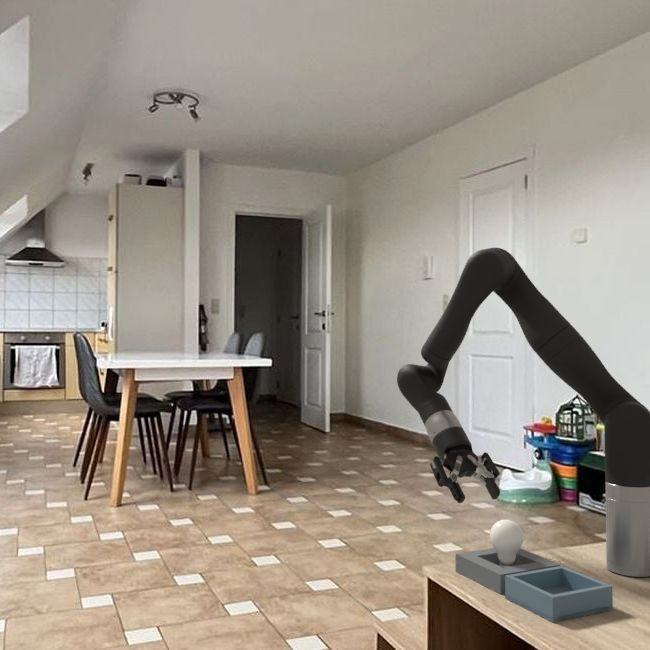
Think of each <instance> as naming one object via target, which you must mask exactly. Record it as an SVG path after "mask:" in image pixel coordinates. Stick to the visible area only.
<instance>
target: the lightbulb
mask: <svg viewBox="0 0 650 650" xmlns="http://www.w3.org/2000/svg"><path fill="white" fill-rule="evenodd" d="M524 537H525V536H524V532H523V530H522V528H521V527H520V525H519V524H518V523H517V522H515V521H513V520H511V519H506V518H504V519H501V520H498V521H496V522H495V523H494V524H493V525H492V526H491V528H490V532H489V540H490V543H491V545H492V548H495V550H496V552H497V555H498V559H499V561H500V566H501V567H503V568H504V567H510V566H514V561H515V559H516V554H517V552H518V551H519V549H520V548H521V549H522V546H523V543H524V539H525V538H524Z"/></svg>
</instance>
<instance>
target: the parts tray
mask: <svg viewBox="0 0 650 650" xmlns="http://www.w3.org/2000/svg"><path fill="white" fill-rule="evenodd" d="M613 591H614V589H613V585H611V584H609V583H606V582H603V581H601V580H598V579H596V578H594V577H591V576H588V575H587V574H583V573H580V572H578V571H576V570H573V569H571V568H569V567H565V566H563V565H561V566H558V567H552V568H547V569H541V570H535V571H529V572H523V573H518V574H512V575H506V576H505V595H504V597H505V599H506V600H508V601H510V602H512V603H514V604H516V605H518V606H520V607H521V608H523V609H525V610H527V611H529V612H530V613H534V614H535V615H537V616H539V617H541V618H544V619H545V620H547V621H549V622H551V623H558V622H561V621H567V620H571V619H575V618H582V617H586V616H591V615H595V614H599V613H605V612H610V611H613V610H614V608H613V605H614V601H613V600H614V599H613V598H614V596H613V593H614V592H613Z"/></svg>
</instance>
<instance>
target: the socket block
mask: <svg viewBox="0 0 650 650" xmlns="http://www.w3.org/2000/svg"><path fill="white" fill-rule="evenodd" d="M558 566H562V564H561V563H558V562H556V561H553V560H551V559H547V558H546V557H543V556H540V555H538V554H536V553H534V552H530V551H528V550H526V549H523V548H522V547H521V548H520V549H519V551H518V552H517V554H516V559H515V561H514V566H510V567H504V568H503V567H501V566H500V561H499V559H498V555H497V552H496V550H495V548H494V547H491V548H485V549H478V550H472V551H465V552H459V553H458V552H457V553H455V572H456V573H458V574H460V575H462V576H464V577H465V578H467V579H469V580H471V581H473V582H476V583H477V584H480V585H482V586H484V587H486V588H488V589H490V590H491V591H493V592H495V593H496V594H499V595H504V594H505V576H506V575H512V574H518V573H523V572H529V571H535V570H541V569H547V568H552V567H558Z"/></svg>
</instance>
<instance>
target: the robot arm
mask: <svg viewBox="0 0 650 650" xmlns="http://www.w3.org/2000/svg"><path fill="white" fill-rule="evenodd" d="M492 293H495V294H496V295H497V296H498V298H500V299H501V300H502V301H503V302H504V303H505V305H507V306H508V308H509V309H510V310H511V311H512V313H513V314H514V316H515V318H516V320H517V322H518V324H519V325H520V328H521V330H522V333H523V335H524V337H525V339H526V341H527V343H528V344H529V346H530V347H531V349H532V350H533V351H534V353H536V355H537V356H538V357H539V358H540V359H541V361H542V362H543V363H544V364H545V365H546V366H547V367H548V368H549V370H551V371H552V372H553V373H554V374H555V375H556V376H557V377H558V378H559V379H561V380H562V381H563V382H564V383H565V384H566V385H567V386H568V387H570V388H571V389H573V390H574V391H575V392H576V393H577V394H578V395H579V396H580V397H581V398H582V399H583V400H584V401H585V402H586V403H587V404H588V405H589V407H590V408H591V409H592V411H593V412H594V414H595V415H596V416H597V417H598V419H599V420H600V421H601V424H603V426H604V428H603V429H604V430H603V431H604V433H603V434H604V436H603V437H604V438H603V439H604V440H603V441H604V472H605V473H604V474H605V475H604V476H605V477H604V478H605V539H606V540H605V541H606V542H605V543H606V546H605V548H606V550H605V552H606V557H605V558H606V559H605V560H606V568H607V570H609V571H611V572H613V573H615V574H618V575H621V576H628V577H636V578H637V577H638V578H639V577H640V578H645V577H650V410H649V409H648V408H647V406H645V405H644V404H642V403H641V402H640V401H639V400H638V399H636V398H635V397H634V396H633V395H632V394H630V392H628V391H627V390H626V389H625V388H624V387H623V386H622V385H621V384H620V383H619V382H618V381H617V379H615V378H614V377H613V376H612V374H611V373H610V372H609V371H608V369H607V368H606V367H605V365H604V364H603V362H602V361H601V359H600V358H599V357H598V355H597V353H595V351H594V350H593V348H592V347H591V346H590V345H589V343H588V342H587V340H585V339H584V337H583V336H582V335H581V333H580V332H578V330H577V329H575V327H574V325H572V324H571V323H570V322H569V321H568V320H567V319H566V318H565V316H563V314H561V313H560V311H559V310H558V309H557V308H556V307H555V306H554V305H553V304H552V303H551V302H550V301H549V300H548V298H546V296H544V295H543V294H542V293H541V292H540V291H539V289H538V288H537V287H536V286H535V285H534V283H533V282H532V281H531V279H530V278H529V277H528V275H527V274H526V273H525V271H524V270H523V268H522V267H521V265H520V264H519V262H518V261H517V259H516V258H515V257H514V256H513V255H512V254H511V253H510V252H508V251H507V250H505V249H504V248H500V247H490V248H485V249H484V248H483V249H480V250H477V251H475V252H474V253H473V254H471V255H470V256H469V257H468V258H467V261H466V263H465V265H464V267H463V270H462V272H461V275H460V277H459V279H458V282H457V284H456V287H455V289H454V292H453V293H452V296H451V297H450V299H449V302H448V304H447V306H446V308H445V309H444V311H443V313H442V315H441V316H440V318H439V320H438V322H437V323H436V324H435V326H434V328H433V330H432V331H431V333H430V334H429V336H428V337H427V338H426V341H425V342H424V344H423V345H422V347H421V350H420V355H421V357H422V359H423V360H424V361H425V362H426V363H427V364H426V365H421V364H420V365H419V364H414V363H413V364H412V363H408V364H405V365H403V366H402V367H400V368H399V370H398V372H397V374H396V375H397V376H396V382H397V386H398V389H399V391H400V393H401V394H402V396H403V397H404V398H405V400H407V402H408V403H409V404H410V406H412V407H413V409H414V410H415V411H416V412H417V413H418V415H419V417H420V420H421V422H422V423H423V426H424V428H425V430H426V433H427V435H428V438H429V441H430V442H431V444H432V447H433V448H434V450H435V452H436V454H437V456H434V458H433V459H432V460H431V462H430V464H429V466H430V468H431V471H432V474H433V476H434V478H435V481H436V483H437V484H436V485H437V486H438V487H440V488H442V487H446V488H447V489H449V491H450V493H451V495H452V497H453V499H454V500H455V501H456V502H457V503H458V504H463V502H465V499H466V496H465V494H464V491H463V489H462V487H461V485H460V483H459V482H457V480H458V478H459V479H460V478H464V477H466V478H470V477H472V478H473V479H474V480H479V481H480V482H482V483H483V484H484V485H485V486H484V487H485V488H486V490H487V492H488V494H489V495H490V497H491V499H492V500H493V501H494V500H497V499H498V498H499V496H500V495H501V490H500V488H499V487H498V484H497V483H496V479H497V478H498V477H499V476H500V474H501V473H500V471H499V470H498V468H497V466H496V464H495V462H494V461H493V459H492V458H491V456H490V455H489V453H488V452H483V453H482V454H480V455H477V454H476V453H475V452H474V450H473V446H472V443H471V441H470V440H469V437H468V435H467V434H466V432H465V430H464V428H463V426H462V424H461V422H460V420H459V419H458V417H457V416H456V415H455V413H454V412H453V410H452V407H451V406H450V404H449V402H448V401H447V399H446V397H445V396H444V395H442V394H441V393H440V392H439V391H440V390H441V388H442V386H443V383H444V379H445V378H446V377H445V376H446V374H447V371H448V367H449V365H450V362H451V360H452V358H453V357H454V356H455V354H456V353H457V351H458V349H459V348H460V346H461V345H462V344H463V341H464V339H465V338H466V337H465V336H466V335H467V332H468V330H469V326H470V324H471V322H472V319H473V317H474V315H475V313H476V312H477V310H479V307H480V306H481V305H482V304H483V303H484V301H486V299H487V298H488V297H489V296H490V295H491V294H492ZM444 468H445V469H446V470H447V471H448V475H447V473H446V470H445V469H444ZM477 469H478V471H479V472H476V471H477Z"/></svg>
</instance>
